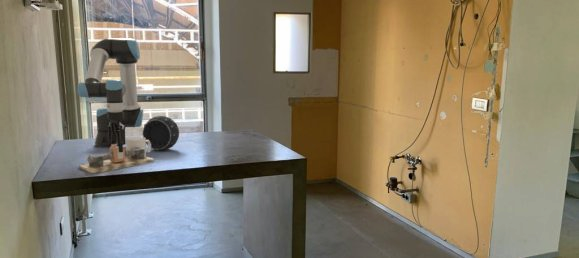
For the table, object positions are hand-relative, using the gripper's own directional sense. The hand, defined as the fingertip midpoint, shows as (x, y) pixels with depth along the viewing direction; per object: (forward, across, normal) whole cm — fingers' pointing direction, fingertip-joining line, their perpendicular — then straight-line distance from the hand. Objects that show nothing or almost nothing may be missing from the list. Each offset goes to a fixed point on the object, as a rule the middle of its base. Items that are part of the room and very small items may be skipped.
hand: (117, 157), depth 217 cm
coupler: (+2, 0, 0) cm, 2 cm away
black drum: (+4, -14, +35) cm, 38 cm away
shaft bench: (+4, 0, 0) cm, 4 cm away
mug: (+4, -9, +17) cm, 20 cm away
